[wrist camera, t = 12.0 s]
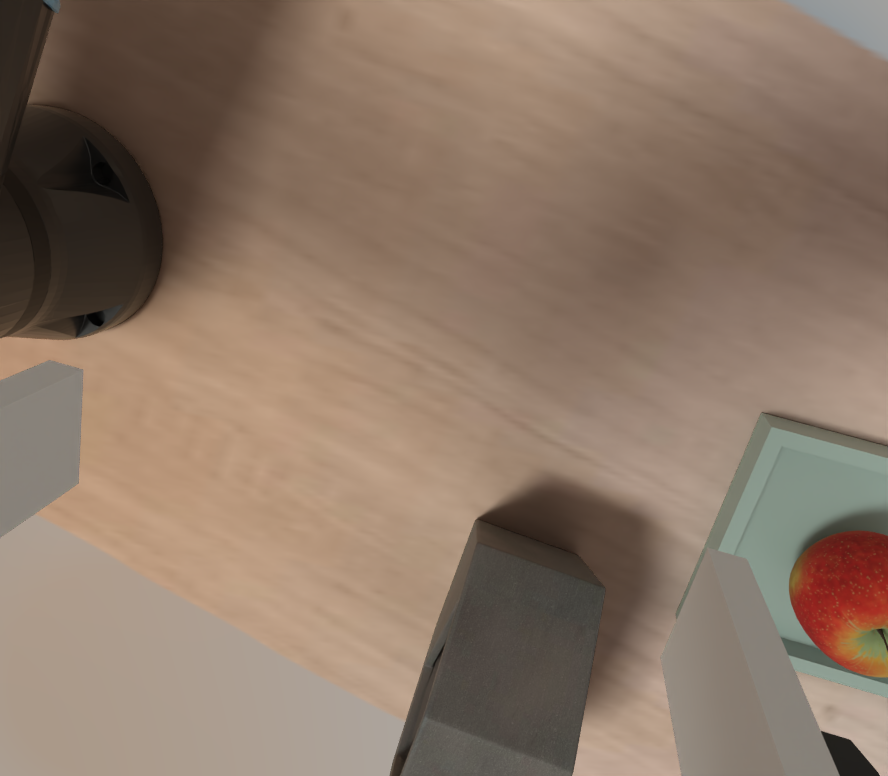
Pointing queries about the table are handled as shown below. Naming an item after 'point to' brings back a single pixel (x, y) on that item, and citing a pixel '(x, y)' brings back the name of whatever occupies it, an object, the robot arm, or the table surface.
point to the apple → (845, 599)
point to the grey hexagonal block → (505, 663)
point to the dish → (800, 520)
